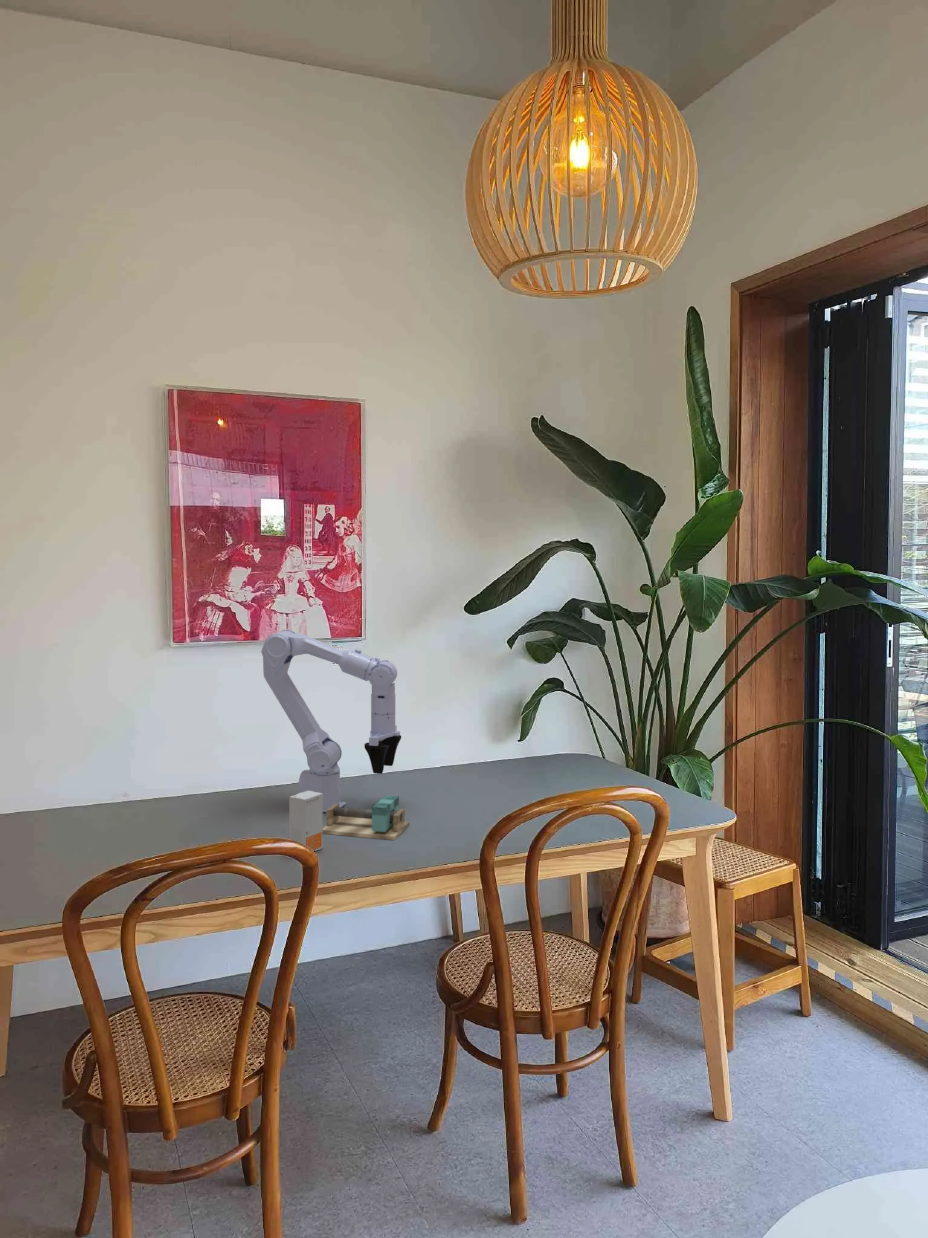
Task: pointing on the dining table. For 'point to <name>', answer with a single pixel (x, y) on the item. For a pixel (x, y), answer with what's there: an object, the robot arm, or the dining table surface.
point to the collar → (384, 813)
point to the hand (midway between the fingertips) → (383, 769)
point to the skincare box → (306, 818)
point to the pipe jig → (361, 823)
